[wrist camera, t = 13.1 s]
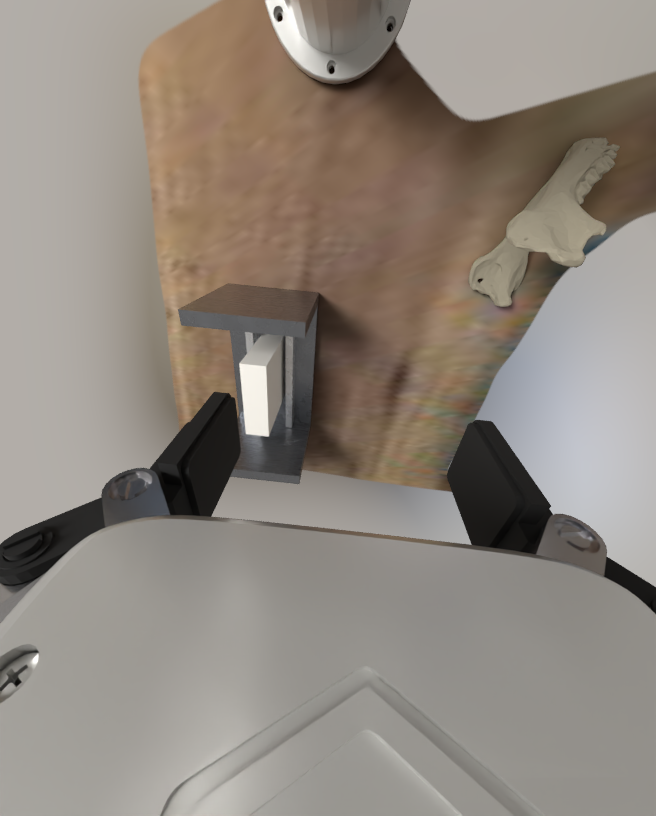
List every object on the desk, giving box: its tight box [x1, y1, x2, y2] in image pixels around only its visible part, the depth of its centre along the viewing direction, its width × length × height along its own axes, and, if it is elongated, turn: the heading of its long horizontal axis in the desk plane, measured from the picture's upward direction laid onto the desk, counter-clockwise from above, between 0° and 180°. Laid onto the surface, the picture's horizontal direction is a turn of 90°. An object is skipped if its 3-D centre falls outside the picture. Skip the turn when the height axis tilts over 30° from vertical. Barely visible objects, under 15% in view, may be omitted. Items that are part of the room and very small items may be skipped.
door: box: [239, 334, 284, 437], centre depth 39 cm, size 10×3×10 cm, turn 175°
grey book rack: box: [178, 284, 319, 484], centre depth 38 cm, size 22×12×13 cm, turn 175°
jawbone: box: [468, 138, 620, 307], centre depth 29 cm, size 14×8×15 cm
